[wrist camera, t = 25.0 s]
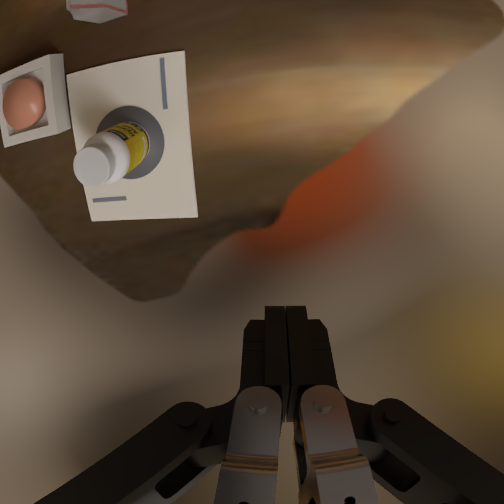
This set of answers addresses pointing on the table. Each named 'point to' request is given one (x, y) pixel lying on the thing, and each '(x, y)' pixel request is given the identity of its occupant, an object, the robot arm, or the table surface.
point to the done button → (24, 103)
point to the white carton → (97, 9)
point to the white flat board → (153, 121)
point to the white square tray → (55, 98)
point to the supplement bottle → (111, 154)
